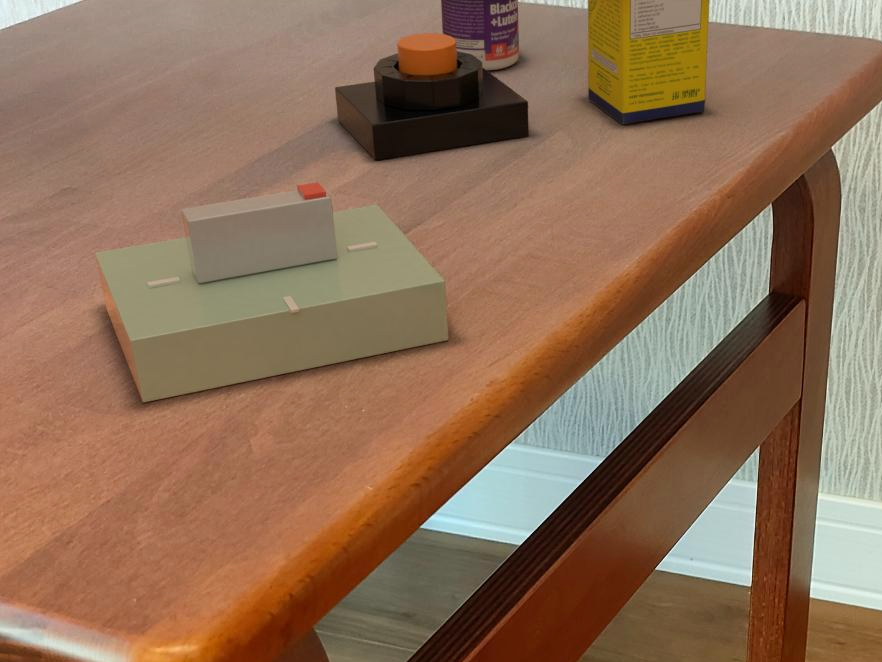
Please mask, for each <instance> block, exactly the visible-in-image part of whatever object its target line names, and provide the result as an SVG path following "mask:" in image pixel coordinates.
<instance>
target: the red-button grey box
mask: <svg viewBox="0 0 882 662" xmlns="http://www.w3.org/2000/svg"><path fill="white" fill-rule="evenodd" d="M296 188H297V189H295V190H294V189H293V190H289V191H281V192H277V193H269V194H264V195H260V196H258V195H257V196H251V197H246V198H240V199H233V200H228V201H221V202H215V203H209V204H203V205H197V206H190V207H185V208H182V209H181V216H182V223H183V227H184V228H183V229H184V235H185V237H186V241H187V247H188V253H189V258H190V264H191V270H192V272H193V274H194V275H195V277H196V279H197V281H198V283H204V282H210V281H215V280H221V279H226V278H232V277H237V276H243V275H249V274H254V273H260V272H265V271H271V270H276V269H282V268H287V267H293V266H298V265H304V264H309V263H315V262H320V261H326V260H331V259H337V257H338V255H337V246H336V236H335V227H334V218H333V212H334V210H333V209H334V208H333V200H332V197H331V196H330V194H329V193H328V192H327V190H326V189H325V188H324V186H322V185H321V183H319V181H317V182H311V183H304V184H297V185H296Z"/></svg>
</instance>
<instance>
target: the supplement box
mask: <svg viewBox="0 0 882 662" xmlns="http://www.w3.org/2000/svg"><path fill="white" fill-rule="evenodd" d="M709 19H710V0H587V41H588V42H587V48H588V49H587V50H588V51H587V53H588V55H587V62H588V63H587V65H588V68H587V75H588V76H587V80H588V81H587V84H588V86H587V87H588V89H587V90H588V91H587V95H588V101H589V102H591V103H593V104H594V105H596V106H597V107H598V108H599V109H601V110H602V111H603V112H605V113H606V114H607V115H608V116H610V117H611V118H613V119H614V120H615V121H617V122H619V123H620V124H621V125H628V124H634V123H639V122H645V121H651V120H656V119H658V120H659V119H664V118H670V117H676V116H684V115H689V114H695V113H696V114H697V113H703V112H705V109H706V91H707V89H706V88H707V64H708V45H709V43H708V41H709Z"/></svg>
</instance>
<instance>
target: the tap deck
mask: <svg viewBox="0 0 882 662" xmlns="http://www.w3.org/2000/svg"><path fill="white" fill-rule="evenodd" d="M333 218H334V227H335V236H336V246H337V255H338V257H337V259H331V260H326V261H320V262H315V263H309V264H304V265H298V266H293V267H287V268H282V269H276V270H271V271H265V272H260V273H254V274H249V275H243V276H237V277H232V278H226V279H221V280H215V281H210V282H204V283H198V281H197V279H196V277H195V275H194V274H193V272H192V270H191V264H190V258H189V253H188V247H187V241H186V236H184V237H178V238H172V239H166V240H161V241H155V242H149V243H144V244H137V245H132V246H126V247H120V248H114V249H108V250H103V251H97V252H94V256H95V261H96V266H97V272H98V276H99V280H100V285H101V290H102V294H103V299H104V304H105V308H106V312H107V314H108V317H109V320H110V322H111V325H112V327H113V329H114V333H115V335H116V338H117V341H118V343H119V345H120V348H121V350H122V353H123V356H124V358H125V361H126V364H127V366H128V368H129V371H130V374H131V376H132V379H133V381H134V383H135V386H136V388H137V391H138V394H139V396H140V399H141V401H142V403H148V402H153V401H157V400H158V401H159V400H162V399H168V398H172V397H177V396H183V395H186V394H187V395H188V394H192V393H197V392H201V391H207V390H212V389H217V388H221V387H222V388H223V387H226V386H232V385H235V384H241V383H246V382H251V381H256V380H261V379H265V378H266V379H267V378H269V377H270V378H271V377H275V376H279V375H284V374H289V373H295V372H299V371H305V370H309V369H314V368H319V367H324V366H328V365H329V366H330V365H333V364H334V365H335V364H339V363H343V362H344V363H345V362H349V361H354V360H358V359H364V358H367V357H372V356H377V355H383V354H387V353H392V352H397V351H402V350H407V349H412V348H416V347H422V346H426V345H431V344H437V343H441V342H445V341H449V324H448V323H449V322H448V308H447V307H448V306H447V291H446V290H447V289H446V279H444V277H442V275H441V274H440V273H439V272H438V271H437V270H436V269H435V267H434V266H433V265H432V264H431V263H430V261H428V259H427V258H426V257H425V256H424V255H423V254H422V253H421V252H420V250H419V249H418V248H417V247H416V246H415V245H414V244H413V242H412V241H410V239H409V238H408V237H407V235H405V233H403V231H402V230H401V229H400V228H399V227H398V225H397V224H396V223H395V222H394V221H393V220H392V218H391V217H389V215H388V214H387V213H386V212H385V211H384V209H382V208H381V206H380V205H379V204H372V205H366V206H362V207H361V206H360V207H356V208H355V207H354V208H350V209H342V210H337V211H333Z"/></svg>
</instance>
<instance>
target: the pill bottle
mask: <svg viewBox="0 0 882 662" xmlns="http://www.w3.org/2000/svg"><path fill="white" fill-rule="evenodd" d="M440 5H441V9H440V10H441V29H442V34H444V35H448V36H451V37H453V38H455V40H456V49H457V51H458V52H463V53H468V54H472V55H473V56H475V57H476V58H477V59H479V60H480V61H481V62H482V67H483V68H484V69H485V70H487V71H497V70H502V69H506V68H508V67H511V66H512V65H514V64H515V63H517V62H518V60H519V54H520V38H519V37H520V36H519V0H440Z"/></svg>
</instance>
